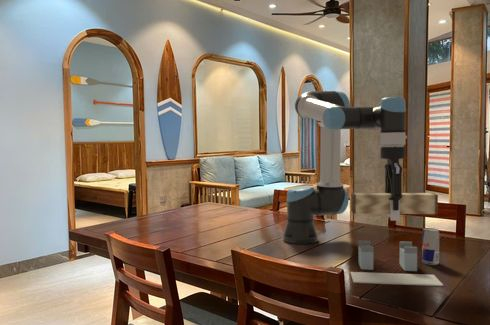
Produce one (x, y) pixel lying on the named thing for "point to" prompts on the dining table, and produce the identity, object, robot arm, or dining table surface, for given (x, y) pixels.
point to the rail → (381, 203)
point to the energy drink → (430, 246)
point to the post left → (365, 255)
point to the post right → (408, 256)
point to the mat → (395, 278)
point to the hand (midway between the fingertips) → (393, 218)
